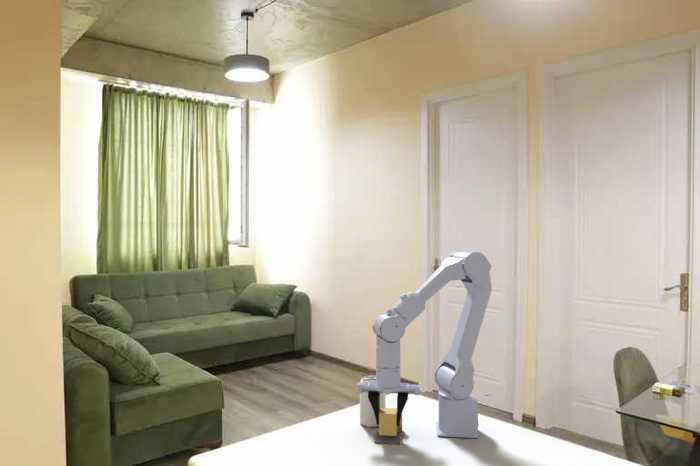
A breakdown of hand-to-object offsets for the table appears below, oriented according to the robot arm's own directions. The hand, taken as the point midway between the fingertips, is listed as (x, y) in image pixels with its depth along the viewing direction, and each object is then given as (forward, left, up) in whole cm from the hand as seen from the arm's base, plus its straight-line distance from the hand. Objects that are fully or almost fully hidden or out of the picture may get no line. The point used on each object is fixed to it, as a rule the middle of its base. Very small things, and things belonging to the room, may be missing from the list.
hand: (388, 423), depth 125 cm
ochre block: (0, 0, -2) cm, 2 cm away
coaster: (0, 0, -3) cm, 3 cm away
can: (+4, -10, -4) cm, 11 cm away
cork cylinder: (-2, -5, -4) cm, 7 cm away
